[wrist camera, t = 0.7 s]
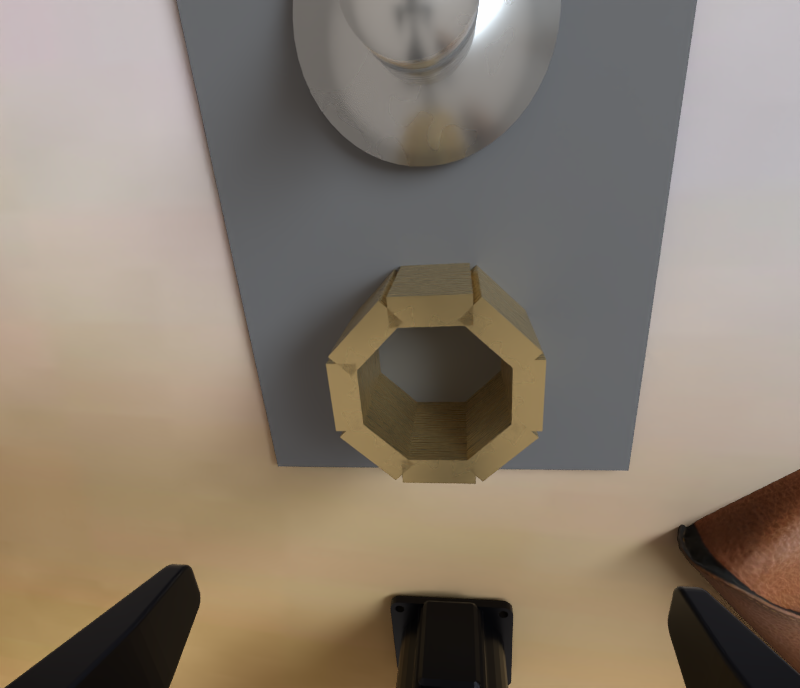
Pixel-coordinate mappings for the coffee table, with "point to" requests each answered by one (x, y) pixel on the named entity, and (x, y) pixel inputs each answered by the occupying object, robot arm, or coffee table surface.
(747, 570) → the sunglasses case
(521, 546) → the coffee table surface
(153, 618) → the robot arm
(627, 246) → the mat
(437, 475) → the bronze ring
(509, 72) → the silver rounded piece
